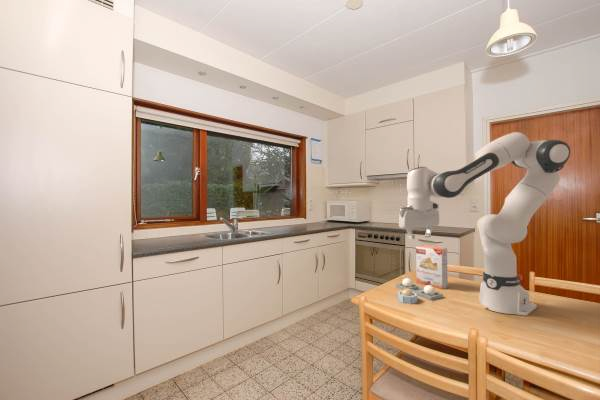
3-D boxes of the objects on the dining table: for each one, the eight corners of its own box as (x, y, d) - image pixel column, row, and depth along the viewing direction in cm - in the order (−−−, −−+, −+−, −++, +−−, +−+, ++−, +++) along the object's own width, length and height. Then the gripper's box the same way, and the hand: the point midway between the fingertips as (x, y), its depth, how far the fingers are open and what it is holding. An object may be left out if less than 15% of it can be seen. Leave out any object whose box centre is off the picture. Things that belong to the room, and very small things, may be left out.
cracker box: (415, 284, 146) (415, 245, 146) (421, 282, 150) (421, 244, 150) (442, 291, 135) (441, 249, 135) (448, 289, 139) (447, 248, 139)
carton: (407, 286, 143) (407, 282, 143) (443, 299, 124) (443, 294, 124) (395, 288, 140) (395, 284, 140) (430, 302, 121) (430, 297, 121)
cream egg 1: (407, 285, 141) (407, 276, 141) (415, 288, 137) (414, 278, 137) (400, 287, 139) (400, 277, 139) (407, 290, 135) (407, 280, 135)
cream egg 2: (428, 293, 129) (428, 283, 129) (437, 296, 125) (437, 286, 125) (421, 295, 127) (421, 284, 127) (430, 298, 123) (430, 287, 123)
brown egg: (406, 297, 125) (407, 286, 125) (415, 301, 120) (415, 290, 120) (398, 299, 123) (399, 287, 123) (407, 302, 118) (407, 291, 118)
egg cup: (406, 298, 127) (406, 289, 127) (421, 303, 120) (420, 294, 120) (393, 301, 123) (393, 292, 123) (407, 307, 116) (407, 297, 116)
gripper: (406, 206, 108) (407, 241, 108) (441, 204, 116) (442, 236, 116) (394, 206, 113) (395, 239, 113) (429, 204, 122) (430, 235, 122)
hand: (419, 238), depth 115 cm, fingers open, 8 cm apart
